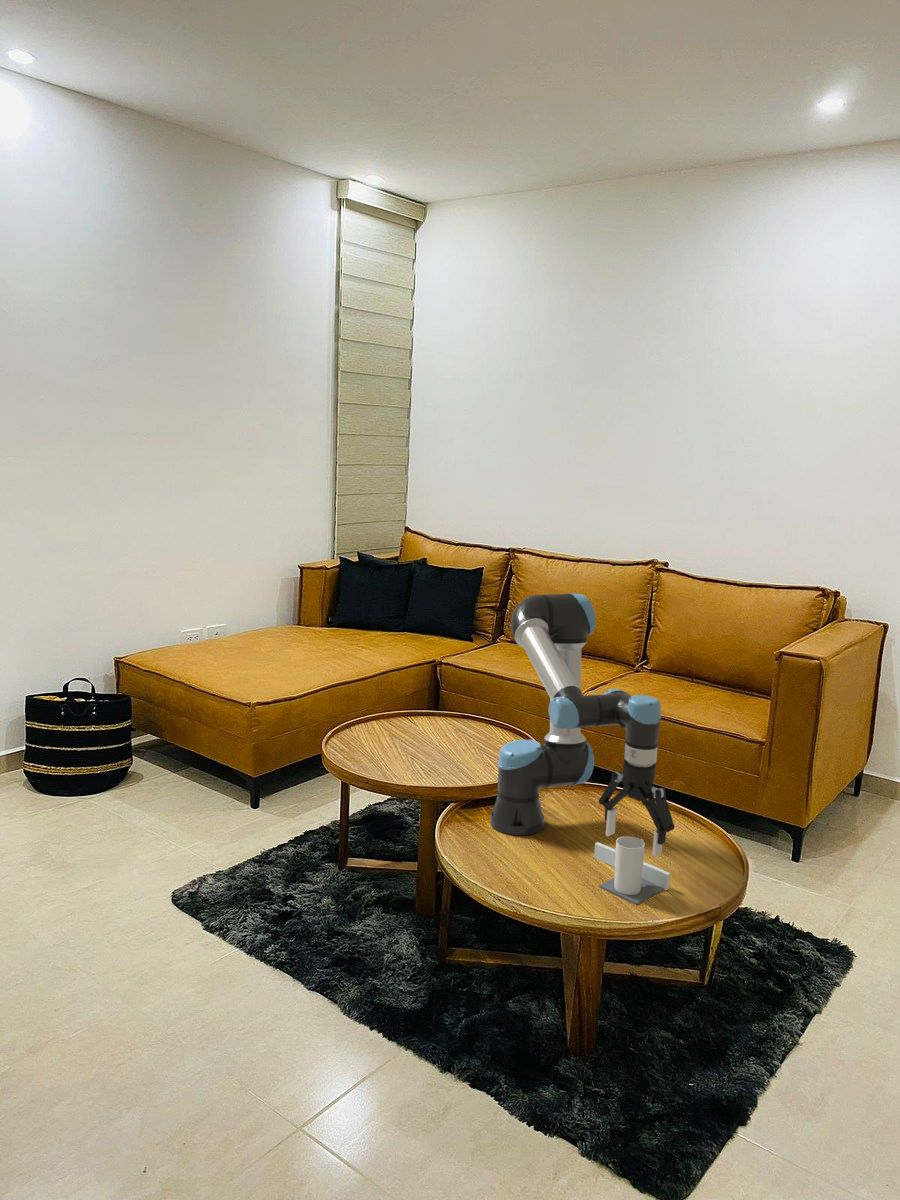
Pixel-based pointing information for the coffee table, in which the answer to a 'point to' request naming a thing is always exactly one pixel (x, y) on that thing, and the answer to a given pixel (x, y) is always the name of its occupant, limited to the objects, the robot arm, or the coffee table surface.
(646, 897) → the mat
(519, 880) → the coffee table surface
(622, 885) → the mug
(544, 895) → the coffee table surface
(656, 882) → the wall
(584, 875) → the coffee table surface
